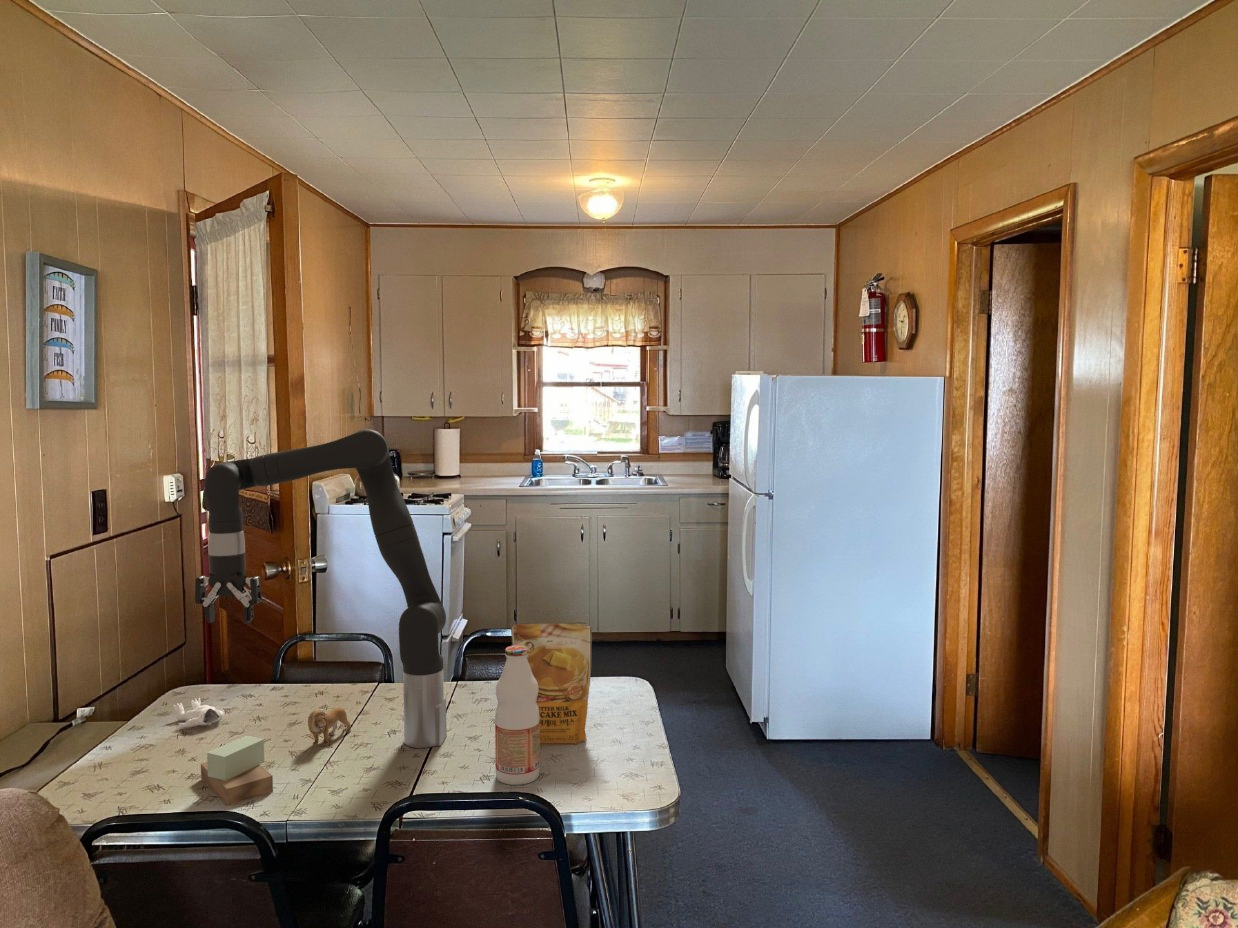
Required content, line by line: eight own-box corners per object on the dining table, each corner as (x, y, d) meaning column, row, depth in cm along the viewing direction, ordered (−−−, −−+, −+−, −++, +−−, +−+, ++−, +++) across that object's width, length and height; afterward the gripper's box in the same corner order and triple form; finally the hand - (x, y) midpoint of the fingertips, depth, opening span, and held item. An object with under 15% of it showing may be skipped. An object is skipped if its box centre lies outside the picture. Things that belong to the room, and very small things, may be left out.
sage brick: (264, 761, 183) (263, 739, 183) (225, 780, 174) (224, 756, 174) (247, 757, 185) (246, 735, 185) (207, 776, 176) (207, 752, 176)
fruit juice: (506, 789, 178) (505, 657, 176) (488, 773, 186) (487, 645, 184) (547, 779, 183) (546, 650, 181) (527, 763, 191) (527, 639, 189)
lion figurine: (323, 752, 197) (322, 714, 196) (302, 750, 198) (301, 712, 197) (355, 728, 211) (355, 692, 210) (336, 726, 212) (335, 691, 212)
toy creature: (208, 693, 223) (232, 692, 216) (212, 717, 223) (235, 717, 216) (161, 707, 214) (183, 706, 207) (164, 731, 213) (187, 731, 206)
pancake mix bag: (513, 734, 208) (512, 620, 205) (592, 734, 208) (592, 620, 206) (510, 745, 201) (509, 627, 199) (592, 745, 201) (591, 627, 199)
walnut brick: (244, 769, 189) (244, 751, 189) (273, 794, 177) (272, 775, 177) (201, 781, 183) (200, 763, 183) (227, 808, 171) (226, 788, 171)
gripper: (265, 548, 197) (267, 618, 198) (204, 548, 198) (207, 617, 199) (250, 554, 190) (252, 627, 191) (187, 554, 190) (189, 626, 192)
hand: (229, 622), depth 195 cm, fingers open, 8 cm apart
